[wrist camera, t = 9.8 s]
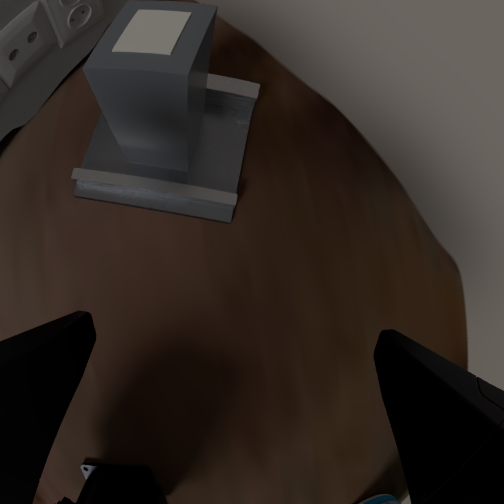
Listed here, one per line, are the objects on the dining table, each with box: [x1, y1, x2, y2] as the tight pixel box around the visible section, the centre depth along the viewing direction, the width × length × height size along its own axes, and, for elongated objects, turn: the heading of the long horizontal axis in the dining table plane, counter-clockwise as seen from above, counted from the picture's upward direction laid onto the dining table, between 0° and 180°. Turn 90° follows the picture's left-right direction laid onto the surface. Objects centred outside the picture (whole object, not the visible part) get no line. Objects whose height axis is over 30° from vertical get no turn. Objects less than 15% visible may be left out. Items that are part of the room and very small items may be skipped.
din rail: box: [71, 74, 260, 224], centre depth 19 cm, size 11×12×3 cm
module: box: [82, 0, 218, 172], centre depth 14 cm, size 5×5×11 cm
